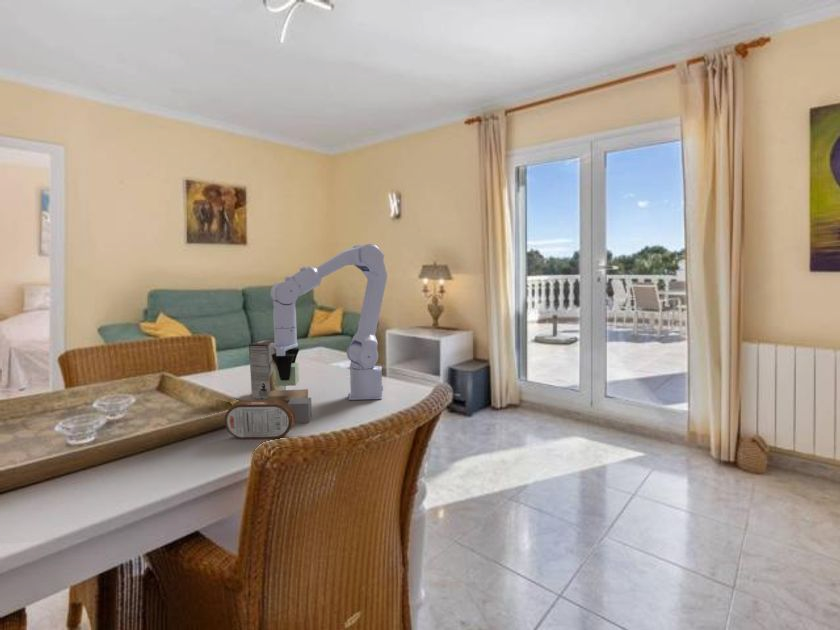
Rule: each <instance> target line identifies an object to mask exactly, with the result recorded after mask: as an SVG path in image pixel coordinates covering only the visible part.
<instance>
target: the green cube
mask: <svg viewBox="0 0 840 630" xmlns="http://www.w3.org/2000/svg"><path fill="white" fill-rule="evenodd" d="M299 375H300V373H299V362H295V363H292V365H291V372H290V378H289V380H282V381H281V379H280V376H279V372H278V369H277V366H276V386H286V387H289V386H290V387H291V386H293V387H294V386H296V385H297V384H298V382H299V381H300V379H299V378H300V376H299Z"/></svg>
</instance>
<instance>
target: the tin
mask: <svg viewBox="0 0 840 630" xmlns="http://www.w3.org/2000/svg"><path fill="white" fill-rule="evenodd" d="M294 422H295V415H294V412H293V410H292V408H291V407H290V406H289V405H288V404H287V403H285V402H283V401H279V400H265V399H264V400H263V399H260V400H259V399H255V400H254V399H245V400H244V399H242V400H237V401H236V402H234V403H233V404H232V405H231V406H230V407H229V409H228V410H227V411H226V413H225V415H224V425H225V429H226V431H228V433H229V434H230V435H231V436H232V437H235V438H237V439H240V440H247V439H248V440H255V439H256V440H257V439H258V440H259V439H262V440H265V439H268V440H270V439H273V440H274V439H281V438H284V437H285V436H286V435H287V434H288V433H290V430H292V428H293V426H294Z"/></svg>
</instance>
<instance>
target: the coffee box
mask: <svg viewBox="0 0 840 630" xmlns="http://www.w3.org/2000/svg"><path fill="white" fill-rule="evenodd" d="M271 343H275V341H274V338H273V339H271V338H269V339H267V338H265V339H262V340H258V341H255V342H252V343H248V348H249V349H248V351H249V367H250V369H249V371H250V385H251V386H250V387H251V399H261V398H262V399H261V400H263V399H264V400H265V399H266V398H267V396H268V395H269V393H270V392H271V391H278V390H287V386H276V364H275V362H274V360H273V359H272V354H273V353H276V349H275V348H274V347H270V344H271Z"/></svg>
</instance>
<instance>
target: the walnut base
mask: <svg viewBox="0 0 840 630" xmlns="http://www.w3.org/2000/svg"><path fill="white" fill-rule="evenodd" d="M291 398H309V389H308V388H305V389H302V388H301V389H286V390H278V391H271V392H270V393H269V395H268V396H267V398H266V399H264V400H279V401H283V402H285V403H287V404H288V403H289V401H290V399H291Z"/></svg>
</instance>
